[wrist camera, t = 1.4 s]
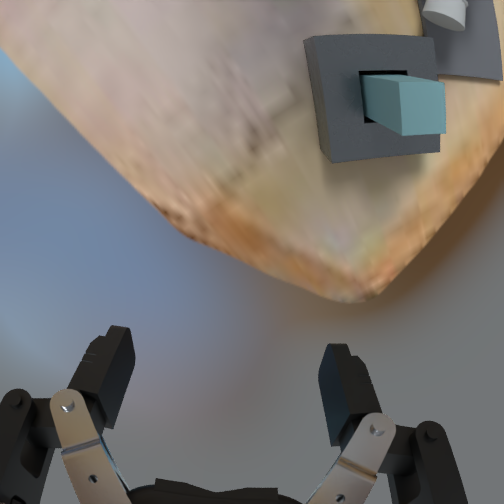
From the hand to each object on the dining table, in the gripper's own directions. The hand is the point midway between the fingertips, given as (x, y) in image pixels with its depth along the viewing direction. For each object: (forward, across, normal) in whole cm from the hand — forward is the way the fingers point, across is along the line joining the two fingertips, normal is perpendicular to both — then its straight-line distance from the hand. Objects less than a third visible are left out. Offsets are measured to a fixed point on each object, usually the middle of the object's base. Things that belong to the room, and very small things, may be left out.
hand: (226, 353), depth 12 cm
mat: (+22, -23, -24) cm, 40 cm away
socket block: (+24, -12, -13) cm, 29 cm away
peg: (+24, -12, -13) cm, 29 cm away
